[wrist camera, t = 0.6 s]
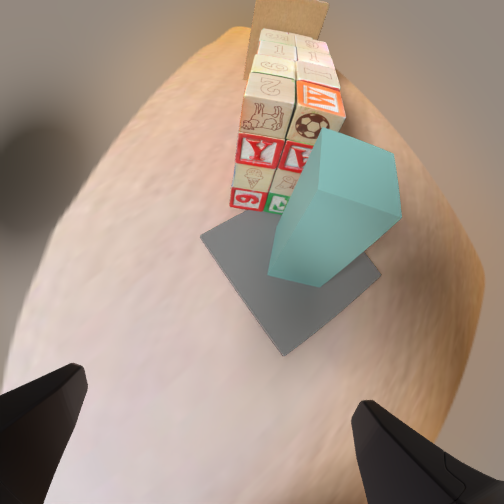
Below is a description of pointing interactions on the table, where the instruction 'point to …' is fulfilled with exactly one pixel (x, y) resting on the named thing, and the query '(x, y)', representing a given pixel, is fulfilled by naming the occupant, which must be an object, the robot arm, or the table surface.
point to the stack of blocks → (283, 118)
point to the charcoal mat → (281, 280)
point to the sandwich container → (285, 21)
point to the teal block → (335, 209)
